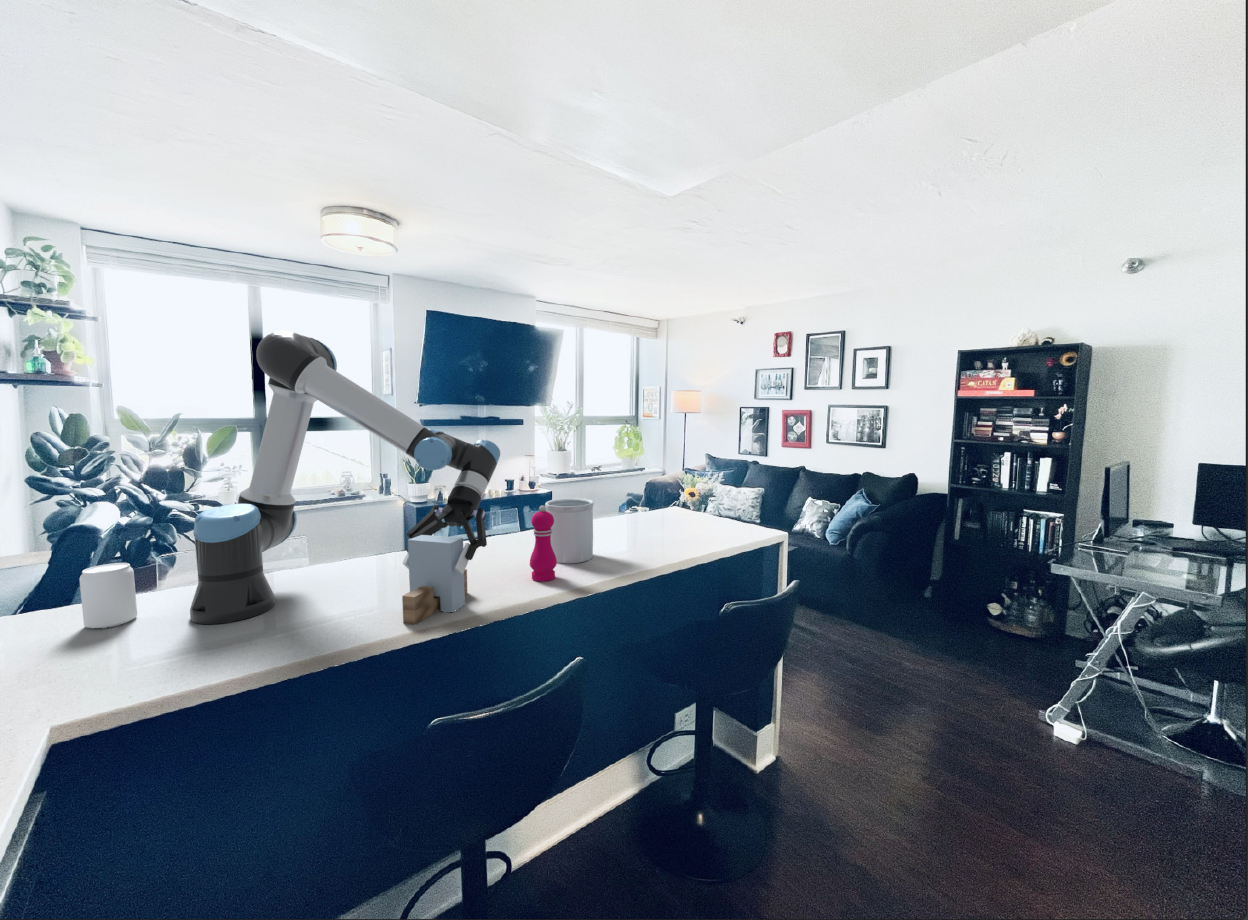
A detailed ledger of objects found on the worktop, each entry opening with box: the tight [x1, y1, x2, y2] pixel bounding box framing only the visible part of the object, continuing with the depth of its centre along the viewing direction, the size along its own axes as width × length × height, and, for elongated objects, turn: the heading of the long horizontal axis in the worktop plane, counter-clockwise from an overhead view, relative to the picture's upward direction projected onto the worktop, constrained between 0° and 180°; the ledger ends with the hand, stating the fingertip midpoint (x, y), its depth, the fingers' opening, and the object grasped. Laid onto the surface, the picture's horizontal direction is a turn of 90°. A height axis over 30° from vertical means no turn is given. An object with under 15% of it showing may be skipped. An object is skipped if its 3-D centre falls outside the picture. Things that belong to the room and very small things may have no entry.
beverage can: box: [78, 562, 138, 629], centre depth 110 cm, size 8×8×12 cm
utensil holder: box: [544, 497, 594, 564], centre depth 160 cm, size 15×15×18 cm
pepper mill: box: [529, 505, 558, 582], centre depth 140 cm, size 7×7×20 cm
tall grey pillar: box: [407, 535, 466, 613], centre depth 119 cm, size 11×5×16 cm, turn 75°
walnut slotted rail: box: [401, 568, 468, 625], centre depth 119 cm, size 20×3×6 cm, turn 165°
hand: (432, 569), depth 117 cm, fingers open, 13 cm apart
